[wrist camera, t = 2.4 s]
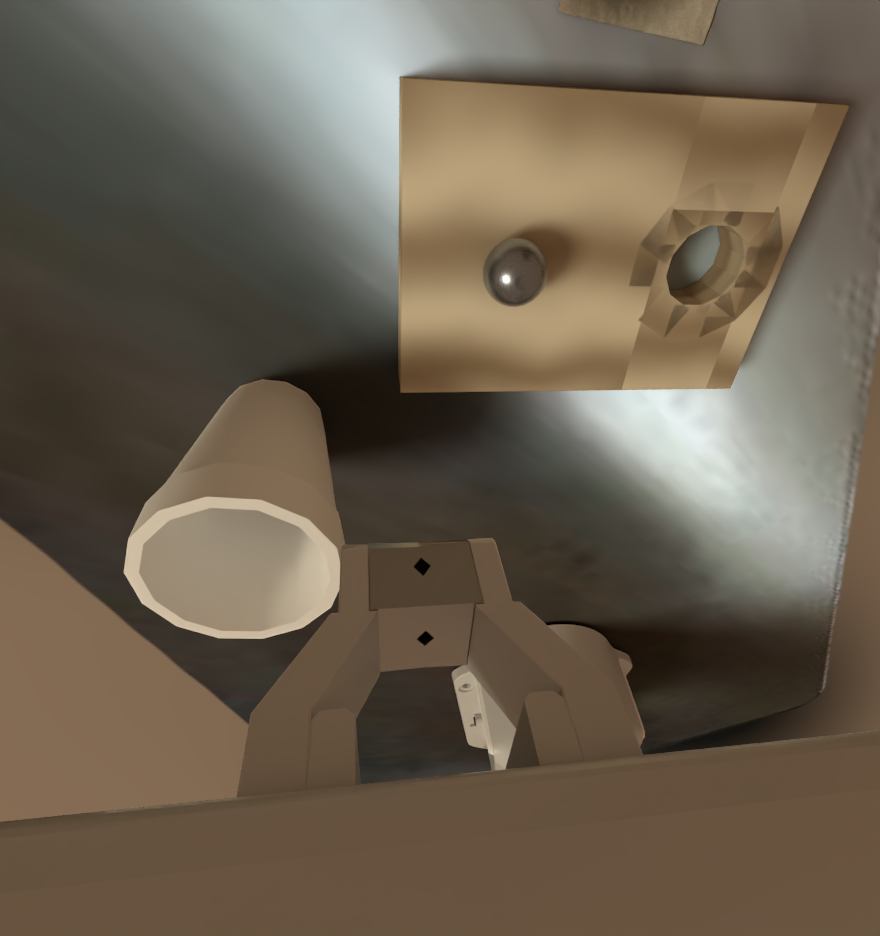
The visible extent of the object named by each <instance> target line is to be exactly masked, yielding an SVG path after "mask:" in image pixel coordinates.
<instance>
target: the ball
mask: <svg viewBox="0 0 880 936" xmlns="http://www.w3.org/2000/svg"><path fill="white" fill-rule="evenodd" d="M547 277H548V265H547V261H546V258H545V255H544V254H543V252H542V251H541V249H540V248H539V247H538V246H537V245H536V244H534V243H533V242H531V241H529V240H526V239H522V238H511V239H507V240H505V241H503V242H501V243H499V244H498V245H496V246H495V247H494V248H493V249H492V250H491V251H490V253H489V254H488V256H487V258H486V260H485V263H484V266H483V282H484V285H485V288H486V290H487V292H488V293H489V295H490V296H491V297H492V298H493V299H494V300H495V301H497V302H498V303H500V304H502V305H505V306H509V307H519V306H523V305H526V304H528V303H530V302H532V301H533V300H534V299H536V298H537V297H538V296H539V294H540V293H541V292H542V290H543V289H544V287H545V284H546V282H547Z"/></svg>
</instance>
